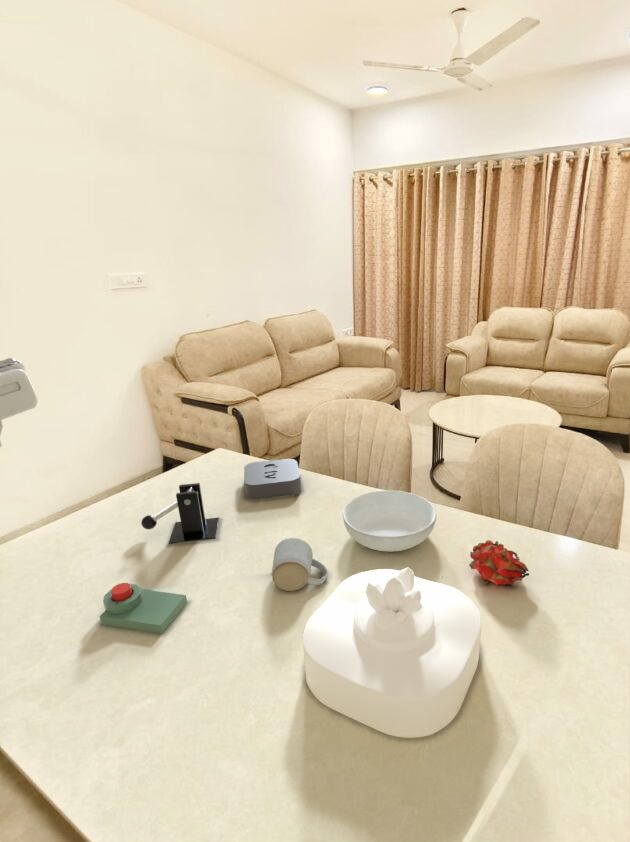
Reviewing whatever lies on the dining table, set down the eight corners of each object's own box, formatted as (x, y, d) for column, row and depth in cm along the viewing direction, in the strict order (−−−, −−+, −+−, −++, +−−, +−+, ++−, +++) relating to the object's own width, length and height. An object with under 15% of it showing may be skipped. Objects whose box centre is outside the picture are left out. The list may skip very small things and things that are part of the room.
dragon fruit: (466, 572, 104) (521, 600, 98) (455, 570, 96) (515, 600, 91) (482, 534, 105) (538, 560, 99) (473, 530, 97) (533, 557, 92)
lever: (146, 534, 112) (136, 524, 111) (149, 527, 115) (139, 517, 114) (198, 500, 112) (188, 490, 110) (199, 494, 114) (190, 484, 113)
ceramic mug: (272, 595, 95) (269, 561, 93) (276, 569, 103) (273, 537, 100) (327, 592, 96) (326, 559, 94) (327, 566, 104) (326, 535, 101)
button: (108, 600, 89) (106, 592, 89) (120, 589, 92) (118, 581, 92) (124, 603, 89) (122, 595, 88) (136, 591, 92) (134, 583, 91)
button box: (96, 625, 89) (91, 607, 87) (126, 595, 96) (122, 578, 95) (162, 635, 86) (158, 617, 85) (187, 604, 93) (184, 587, 92)
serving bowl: (453, 549, 109) (455, 521, 107) (366, 575, 101) (366, 546, 98) (407, 506, 127) (407, 482, 124) (330, 526, 118) (328, 500, 116)
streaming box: (246, 479, 142) (244, 463, 140) (297, 474, 145) (296, 457, 143) (246, 504, 129) (244, 486, 127) (302, 497, 132) (301, 479, 130)
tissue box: (363, 591, 96) (361, 518, 90) (491, 634, 85) (498, 555, 80) (283, 688, 76) (274, 602, 70) (439, 761, 65) (443, 666, 59)
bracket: (169, 547, 111) (160, 500, 107) (176, 526, 119) (168, 482, 115) (216, 542, 113) (209, 495, 108) (219, 521, 121) (213, 477, 117)
